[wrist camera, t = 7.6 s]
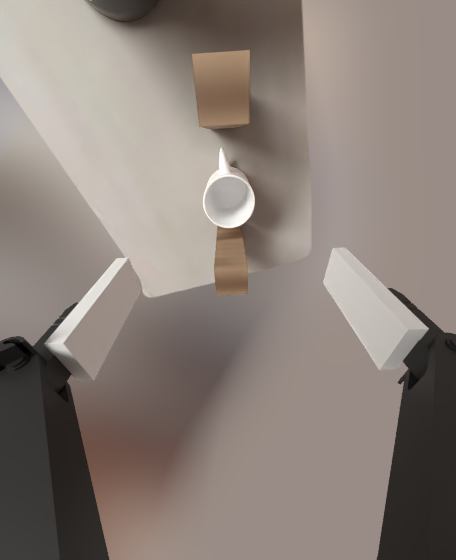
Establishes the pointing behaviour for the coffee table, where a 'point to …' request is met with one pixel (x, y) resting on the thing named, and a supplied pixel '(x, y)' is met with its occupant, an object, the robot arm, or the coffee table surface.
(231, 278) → the post far
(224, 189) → the mug
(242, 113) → the post near
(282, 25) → the coffee table surface
